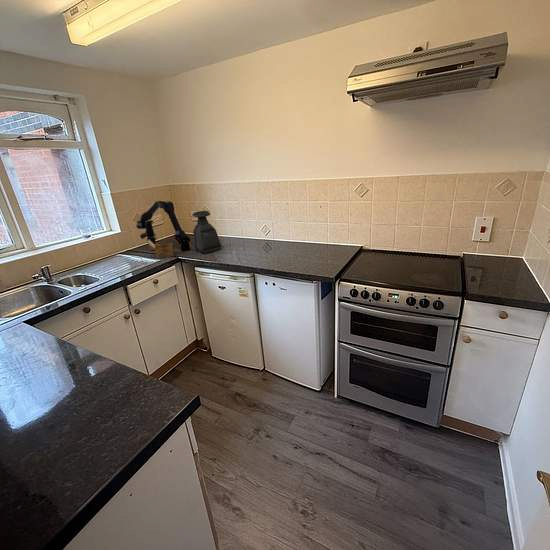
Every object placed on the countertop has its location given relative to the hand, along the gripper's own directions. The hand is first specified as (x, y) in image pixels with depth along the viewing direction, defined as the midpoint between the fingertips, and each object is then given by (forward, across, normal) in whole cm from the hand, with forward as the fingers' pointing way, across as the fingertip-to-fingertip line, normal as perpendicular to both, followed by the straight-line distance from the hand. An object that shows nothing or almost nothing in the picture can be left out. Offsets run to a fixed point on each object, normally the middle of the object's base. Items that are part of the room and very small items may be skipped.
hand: (154, 246), depth 252 cm
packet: (+1, 0, 0) cm, 1 cm away
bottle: (+3, +34, +41) cm, 53 cm away
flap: (-8, +25, +1) cm, 26 cm away
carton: (+3, +25, +9) cm, 27 cm away
